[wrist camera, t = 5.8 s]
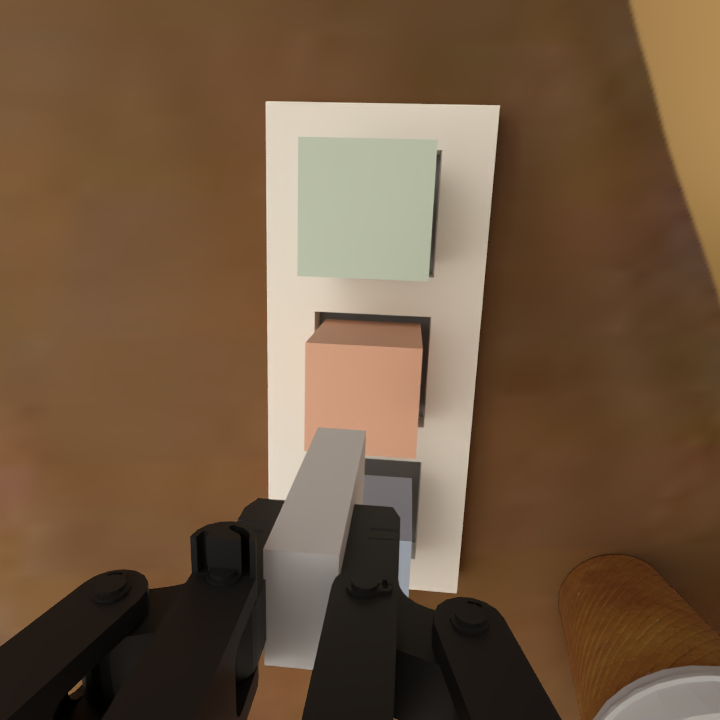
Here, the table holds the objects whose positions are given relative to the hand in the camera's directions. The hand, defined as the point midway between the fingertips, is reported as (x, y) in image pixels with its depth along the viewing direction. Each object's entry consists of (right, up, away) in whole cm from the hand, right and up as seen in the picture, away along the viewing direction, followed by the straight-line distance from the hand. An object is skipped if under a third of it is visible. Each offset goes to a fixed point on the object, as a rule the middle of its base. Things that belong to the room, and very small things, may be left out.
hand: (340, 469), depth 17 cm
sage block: (+1, +10, +9) cm, 14 cm away
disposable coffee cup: (+16, -11, +16) cm, 25 cm away
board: (+1, +3, +14) cm, 14 cm away
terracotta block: (+1, +3, +13) cm, 13 cm away
